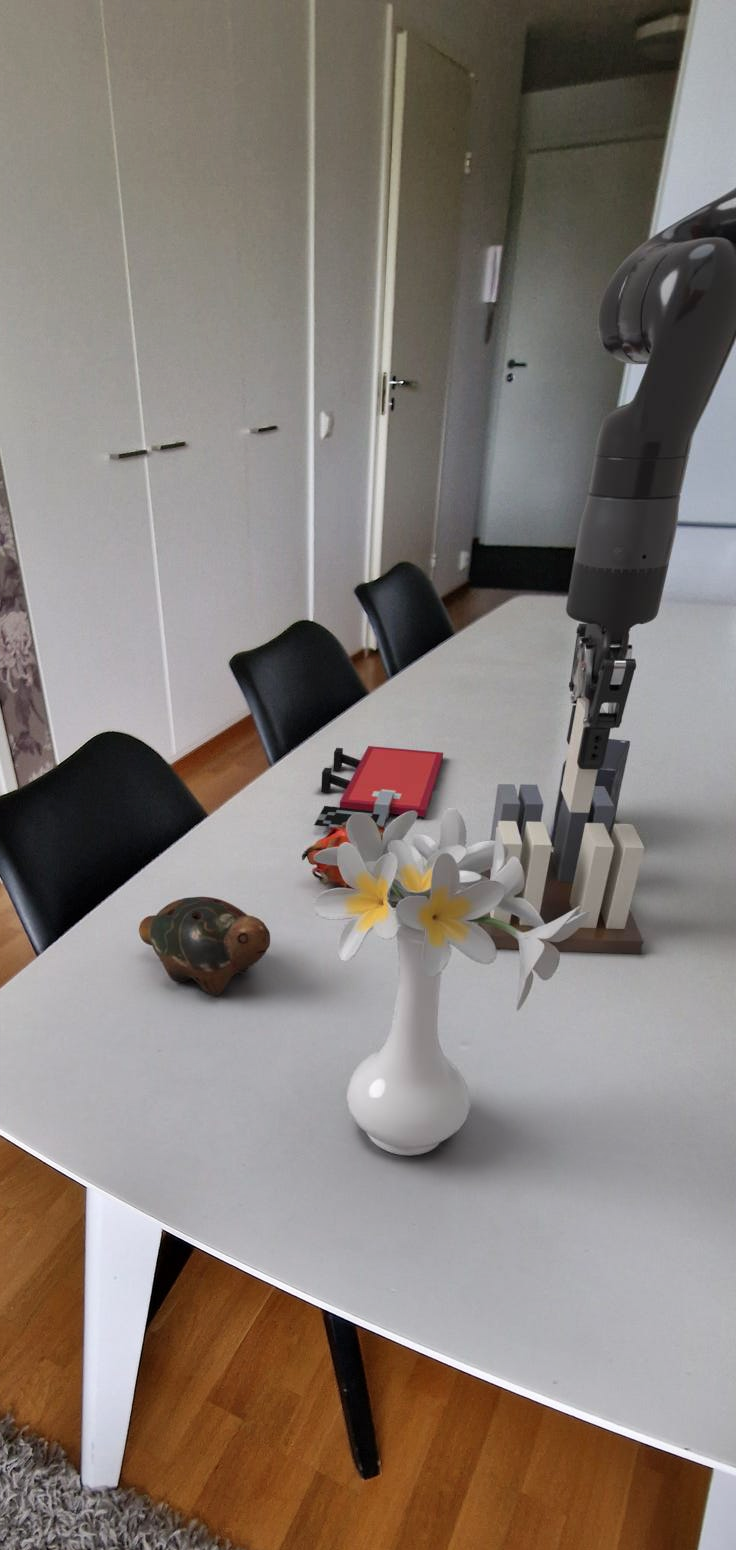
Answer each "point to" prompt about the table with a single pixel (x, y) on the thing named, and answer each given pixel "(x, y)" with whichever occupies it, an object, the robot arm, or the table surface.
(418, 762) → the red board with handle
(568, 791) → the cream thin block
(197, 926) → the decorative turtle
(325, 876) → the dragon fruit
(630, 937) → the board
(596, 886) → the white books
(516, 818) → the grey books
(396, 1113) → the flower vase
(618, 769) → the small box
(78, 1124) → the table surface
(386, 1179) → the table surface
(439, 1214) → the table surface
